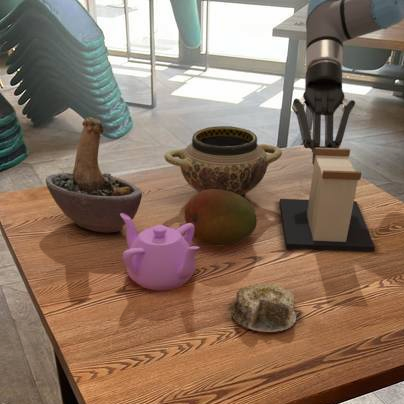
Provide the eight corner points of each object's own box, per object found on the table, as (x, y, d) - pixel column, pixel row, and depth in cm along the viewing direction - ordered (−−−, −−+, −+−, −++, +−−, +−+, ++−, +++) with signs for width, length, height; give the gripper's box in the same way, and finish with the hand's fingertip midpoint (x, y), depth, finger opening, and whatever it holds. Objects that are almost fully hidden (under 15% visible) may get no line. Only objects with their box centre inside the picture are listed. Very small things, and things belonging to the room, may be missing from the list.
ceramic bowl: (269, 194, 130) (271, 123, 124) (293, 207, 114) (296, 126, 108) (162, 200, 127) (158, 127, 121) (171, 215, 111) (167, 132, 105)
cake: (222, 307, 91) (223, 276, 87) (280, 298, 93) (282, 267, 90) (245, 339, 83) (247, 306, 80) (307, 328, 85) (311, 296, 82)
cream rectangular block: (337, 215, 114) (349, 148, 105) (342, 229, 109) (355, 160, 101) (305, 214, 114) (315, 147, 106) (308, 228, 109) (318, 159, 101)
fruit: (175, 237, 107) (174, 186, 101) (228, 221, 113) (230, 171, 107) (212, 263, 100) (213, 209, 94) (266, 244, 106) (271, 192, 99)
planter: (145, 240, 106) (139, 130, 93) (53, 249, 103) (34, 135, 90) (134, 207, 117) (128, 104, 105) (51, 214, 114) (34, 108, 102)
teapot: (198, 296, 92) (199, 246, 86) (113, 293, 92) (108, 243, 87) (201, 259, 101) (202, 212, 95) (124, 256, 101) (120, 209, 96)
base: (355, 205, 120) (369, 136, 111) (373, 251, 104) (391, 175, 95) (279, 203, 120) (286, 133, 111) (286, 248, 105) (295, 172, 96)
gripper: (350, 82, 123) (349, 188, 120) (290, 80, 123) (287, 186, 121) (359, 60, 115) (358, 173, 113) (295, 58, 115) (292, 171, 113)
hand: (322, 179), depth 117 cm, fingers closed
